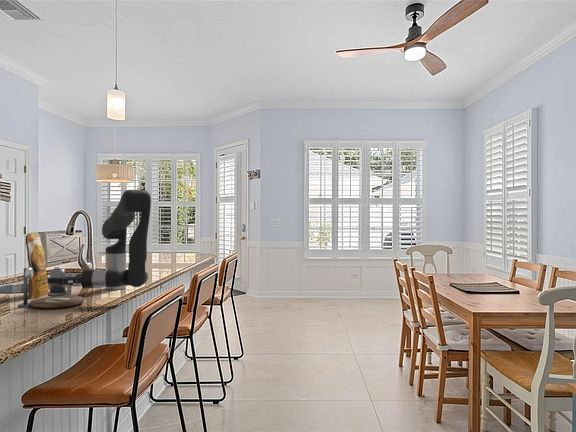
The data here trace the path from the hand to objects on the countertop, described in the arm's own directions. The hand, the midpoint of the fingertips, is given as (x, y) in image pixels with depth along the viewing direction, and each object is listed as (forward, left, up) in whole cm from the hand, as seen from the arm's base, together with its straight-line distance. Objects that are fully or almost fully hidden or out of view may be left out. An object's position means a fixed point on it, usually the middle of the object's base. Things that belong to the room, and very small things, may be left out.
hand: (50, 279), depth 179 cm
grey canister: (0, +3, -6) cm, 7 cm away
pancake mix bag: (-23, -14, -10) cm, 29 cm away
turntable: (0, +2, -10) cm, 10 cm away
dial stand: (+2, -9, -10) cm, 13 cm away
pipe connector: (-21, 0, -10) cm, 23 cm away
